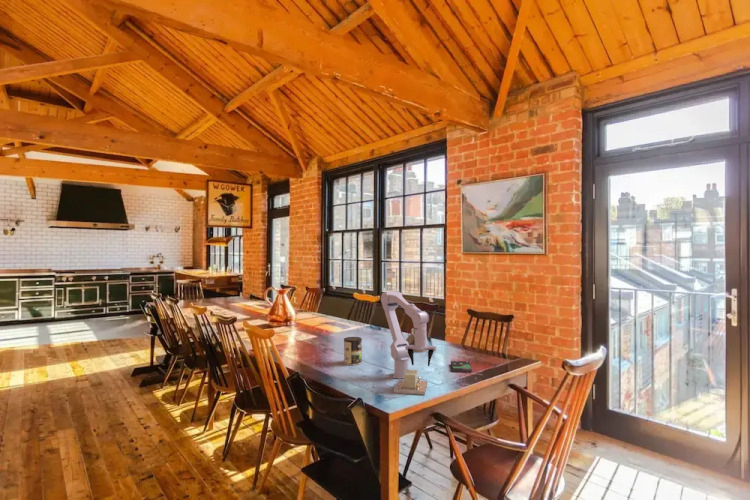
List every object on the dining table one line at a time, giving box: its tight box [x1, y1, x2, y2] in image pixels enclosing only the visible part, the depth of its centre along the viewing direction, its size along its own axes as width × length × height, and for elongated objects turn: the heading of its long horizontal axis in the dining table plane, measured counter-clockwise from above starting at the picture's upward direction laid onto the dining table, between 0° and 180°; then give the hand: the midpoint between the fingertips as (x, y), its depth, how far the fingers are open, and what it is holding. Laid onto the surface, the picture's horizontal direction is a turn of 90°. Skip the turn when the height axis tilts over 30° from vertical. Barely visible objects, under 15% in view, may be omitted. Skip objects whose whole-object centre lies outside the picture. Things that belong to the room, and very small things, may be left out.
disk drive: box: [450, 360, 473, 373], centre depth 228 cm, size 10×3×15 cm
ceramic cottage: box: [405, 328, 428, 353], centre depth 271 cm, size 16×16×15 cm
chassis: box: [393, 376, 428, 396], centre depth 195 cm, size 15×14×4 cm
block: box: [405, 369, 418, 388], centre depth 195 cm, size 8×5×6 cm, turn 168°
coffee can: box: [343, 336, 363, 366], centre depth 240 cm, size 10×10×14 cm
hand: (420, 365), depth 201 cm, fingers open, 7 cm apart
